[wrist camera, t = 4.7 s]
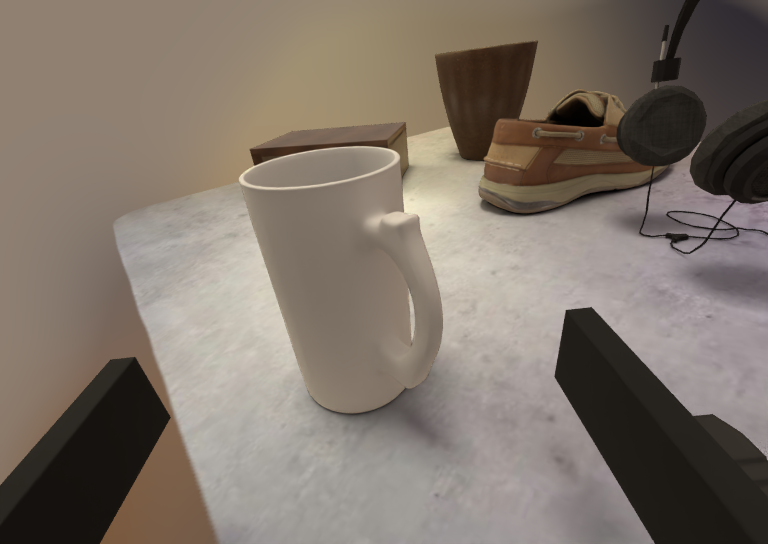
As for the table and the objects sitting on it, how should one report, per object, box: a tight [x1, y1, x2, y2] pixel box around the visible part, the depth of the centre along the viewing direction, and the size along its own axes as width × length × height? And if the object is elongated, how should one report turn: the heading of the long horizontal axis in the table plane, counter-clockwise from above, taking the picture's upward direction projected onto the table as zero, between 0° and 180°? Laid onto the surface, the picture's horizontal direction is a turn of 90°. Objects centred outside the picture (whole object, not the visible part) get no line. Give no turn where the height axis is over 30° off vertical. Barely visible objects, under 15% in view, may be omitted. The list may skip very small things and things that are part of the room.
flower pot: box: [435, 41, 538, 160], centre depth 59 cm, size 15×15×16 cm
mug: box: [239, 146, 443, 413], centre depth 17 cm, size 10×7×12 cm, turn 38°
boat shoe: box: [478, 89, 669, 213], centre depth 42 cm, size 11×29×10 cm, turn 121°
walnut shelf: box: [250, 122, 409, 178], centre depth 57 cm, size 20×14×7 cm
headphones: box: [616, 0, 768, 254], centre depth 25 cm, size 15×11×20 cm
